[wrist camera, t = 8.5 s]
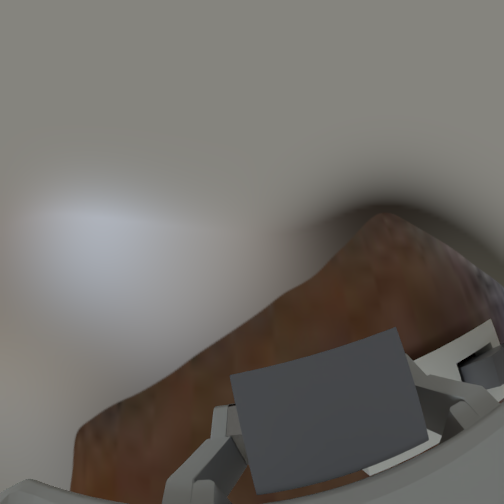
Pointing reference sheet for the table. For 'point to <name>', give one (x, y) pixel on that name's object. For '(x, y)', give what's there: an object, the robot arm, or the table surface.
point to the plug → (328, 413)
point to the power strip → (460, 375)
